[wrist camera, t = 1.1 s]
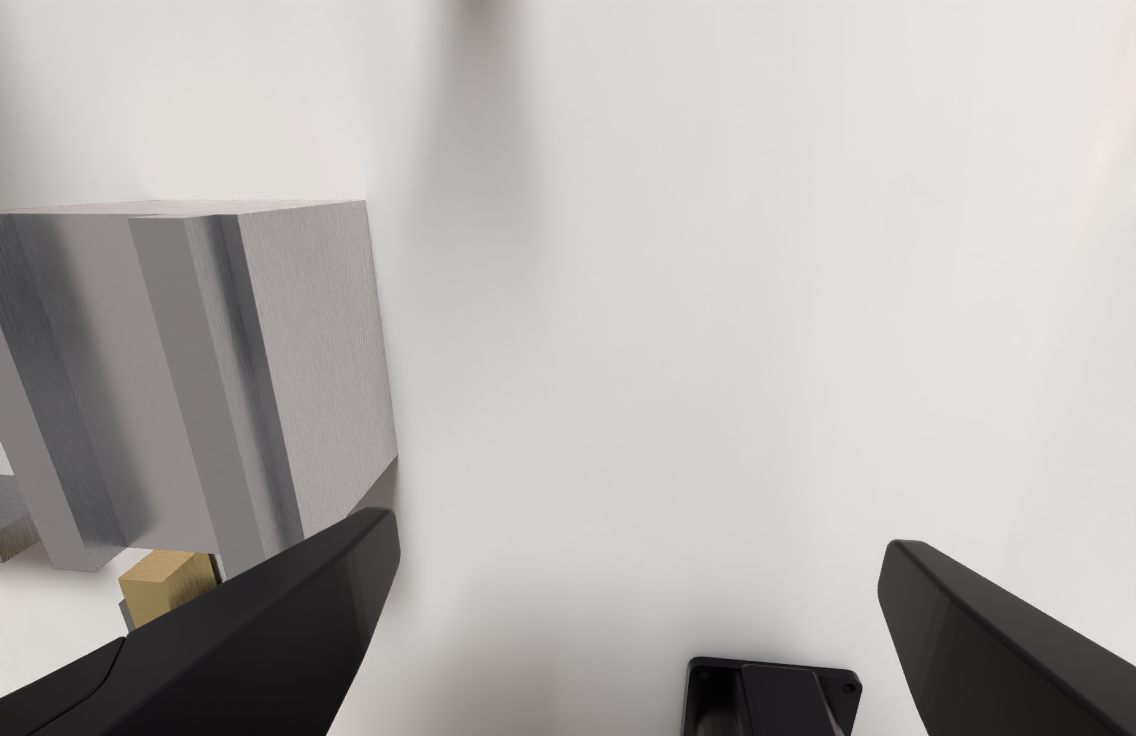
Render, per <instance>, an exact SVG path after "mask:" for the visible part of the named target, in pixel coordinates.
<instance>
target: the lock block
mask: <svg viewBox="0 0 1136 736" xmlns="http://www.w3.org/2000/svg"><path fill="white" fill-rule="evenodd" d="M0 441H1V443H2V446H3V448H4V451H5V453H6V455H7V458H8V460H9V463H10V465H11V467H12V470H13V472H14V475H15V477H16V480H17V482H18V484H19V487H20V489H21V492H22V494H23V497H24V499H25V501H26V504H27V506H28V509H29V511H30V514H31V516H32V518H33V521H34V523H35V526H36V528H37V530H38V533H39V535H40V538H41V540H42V543H43V545H44V547H45V550H46V552H47V555H48V557H49V560H50V562H51V564H52V567H53V569H60V570H73V571H85V572H95V571H97V570H98V569H99V568H101V567H102V566H103V565H105V564H106V563H107V562H109V561H110V560H111V559H113V558H114V557H115V556H117V555H118V554H119V553H121V552H122V551H123V550H125V549H126V548H127V547H130V548H143V549H156V550H169V551H182V552H195V553H209V554H220V555H221V558H222V562H223V565H224V569H225V573H226V576H227V580H229V579H231V578H233V577H235V576H237V575H239V574H241V573H243V572H244V571H246V570H248V569H250V568H252V567H254V566H256V565H258V564H260V563H261V562H263V561H265V560H267V559H269V558H271V557H273V556H275V555H277V554H278V553H280V552H282V551H284V550H286V549H288V548H290V547H292V546H294V545H296V544H297V543H299V542H301V541H303V540H305V539H307V538H309V537H311V536H313V535H314V534H316V533H318V532H320V531H322V530H324V529H326V528H328V527H330V526H331V525H333V524H335V523H337V522H339V521H341V520H343V519H345V518H346V516H347V515H348V514H349V513H350V512H351V510H352V509H353V508H354V507H355V505H356V504H357V503H358V502H359V501H360V499H361V498H362V497H363V496H364V495H365V493H366V492H367V491H368V490H369V489H370V487H371V486H372V485H373V484H374V482H375V481H376V480H377V479H378V478H379V476H380V475H381V474H382V473H383V472H384V470H385V469H386V468H387V467H388V466H389V464H390V463H391V462H392V461H393V459H394V458H395V457H396V456H397V455H398V448H397V441H396V433H395V425H394V417H393V410H392V402H391V394H390V387H389V379H388V371H387V363H386V356H385V348H384V340H383V333H382V325H381V317H380V309H379V302H378V294H377V286H376V278H375V271H374V263H373V255H372V248H371V240H370V232H369V224H368V217H367V209H366V201H365V200H153V201H137V202H121V203H105V204H89V205H73V206H57V207H40V208H24V209H8V210H0Z"/></svg>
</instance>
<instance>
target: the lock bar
mask: <svg viewBox="0 0 1136 736" xmlns="http://www.w3.org/2000/svg"><path fill="white" fill-rule="evenodd" d="M118 581H119V583H120V586H121V589H122V592H123V594H124V597H125V600H126V603H127V605H128V608H129V611H130V614H131V616H132V619H133V622H134V625H135V627H136V629H137V628H138V627H140V626H142V625H144V624H146V623H148V622H150V621H152V620H154V619H155V618H157V617H159V616H161V615H163V614H165V613H167V612H169V611H171V610H172V609H174V608H176V607H178V606H180V605H182V604H184V603H186V602H188V601H190V600H191V599H193V598H195V597H197V596H199V595H201V594H203V593H205V592H207V591H208V590H210V589H212V588H214V587H216V586H217V584H216V580H215V577H214V573H213V570H212V566H211V563H210V559H209V556H208V553H195V552H182V551H169V550H156V549H155V550H153V551H152V552H151V553H150V554H148V555H147V556H146V557H145V558H143V559H142V560H141V561H140V562H138V563H137V564H136V565H135V566H133V567H132V568H131V569H130V570H128V571H127V572H126V573H125V574H123V575H122V576H121V577H120V578H118Z"/></svg>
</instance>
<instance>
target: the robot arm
mask: <svg viewBox="0 0 1136 736" xmlns="http://www.w3.org/2000/svg"><path fill="white" fill-rule="evenodd" d="M400 553H401V552H400V543H399V536H398V529H397V521H396V516H395V513H394V511H393V510H392V509H391V508H383V507H366V508H364V509H362V510H360V511H358V512H356V513H354V514H352V515H350V516H349V517H347V518H345V519H343V520H341V521H339V522H337V523H335V524H333V525H331V526H330V527H328V528H326V529H324V530H322V531H320V532H318V533H316V534H314V535H313V536H311V537H309V538H307V539H305V540H303V541H301V542H299V543H297V544H296V545H294V546H292V547H290V548H288V549H286V550H284V551H282V552H280V553H278V554H277V555H275V556H273V557H271V558H269V559H267V560H265V561H263V562H261V563H260V564H258V565H256V566H254V567H252V568H250V569H248V570H246V571H244V572H243V573H241V574H239V575H237V576H235V577H233V578H231V579H229V580H227V581H225V582H224V583H222V584H220V585H218V586H216V587H214V588H212V589H210V590H208V591H207V592H205V593H203V594H201V595H199V596H197V597H195V598H193V599H191V600H190V601H188V602H186V603H184V604H182V605H180V606H178V607H176V608H174V609H172V610H171V611H169V612H167V613H165V614H163V615H161V616H159V617H157V618H155V619H154V620H152V621H150V622H148V623H146V624H144V625H142V626H140V627H138V628H137V629H135V630H133V631H131V632H129V633H128V635H127V636H126V637H119V638H117V639H115V640H114V641H112V642H110V643H108V644H106V645H104V646H102V647H100V648H99V649H97V650H95V651H93V652H91V653H89V654H87V655H85V656H83V657H81V658H79V659H78V660H76V661H74V662H72V663H70V664H68V665H66V666H64V667H62V668H60V669H58V670H56V671H54V672H52V673H50V674H48V675H46V676H44V677H42V678H40V679H38V680H37V681H35V682H33V683H31V684H29V685H26V686H24V687H22V688H20V689H18V690H16V691H14V692H12V693H10V694H8V695H6V696H4V697H2V698H0V736H326V735H327V733H328V731H329V729H330V727H331V724H332V722H333V720H334V718H335V716H336V714H337V712H338V710H339V708H340V706H341V704H342V702H343V700H344V698H345V696H346V694H347V692H348V690H349V688H350V686H351V684H352V682H353V680H354V678H355V676H356V674H357V672H358V670H359V667H360V665H361V663H362V661H363V659H364V657H365V654H366V652H367V649H368V647H369V644H370V642H371V639H372V636H373V634H374V631H375V628H376V625H377V623H378V620H379V617H380V615H381V612H382V609H383V607H384V604H385V601H386V599H387V596H388V593H389V591H390V588H391V585H392V582H393V580H394V577H395V574H396V572H397V569H398V566H399V562H400ZM877 591H878V599H879V603H880V606H881V609H882V611H883V614H884V617H885V620H886V623H887V626H888V629H889V632H890V634H891V637H892V640H893V643H894V646H895V649H896V652H897V655H898V657H899V660H900V663H901V666H902V669H903V672H904V675H905V678H906V680H907V683H908V686H909V689H910V692H911V694H912V697H913V700H914V702H915V705H916V708H917V710H918V712H919V715H920V717H921V719H922V721H923V724H924V726H925V728H926V730H927V733H928V735H929V736H1136V666H1134V665H1132V664H1131V663H1129V662H1127V661H1125V660H1124V659H1122V658H1120V657H1119V656H1117V655H1115V654H1114V653H1112V652H1110V651H1108V650H1107V649H1105V648H1103V647H1102V646H1100V645H1098V644H1097V643H1095V642H1093V641H1091V640H1090V639H1088V638H1086V637H1085V636H1083V635H1081V634H1080V633H1078V632H1076V631H1074V630H1073V629H1071V628H1069V627H1068V626H1066V625H1064V624H1063V623H1061V622H1059V621H1057V620H1056V619H1054V618H1052V617H1051V616H1049V615H1047V614H1046V613H1044V612H1042V611H1041V610H1039V609H1037V608H1035V607H1034V606H1032V605H1030V604H1029V603H1027V602H1025V601H1024V600H1022V599H1020V598H1018V597H1017V596H1015V595H1013V594H1012V593H1010V592H1008V591H1007V590H1005V589H1003V588H1001V587H1000V586H998V585H996V584H995V583H993V582H991V581H990V580H988V579H986V578H984V577H983V576H981V575H979V574H978V573H976V572H974V571H973V570H971V569H969V568H967V567H966V566H964V565H962V564H961V563H959V562H957V561H956V560H954V559H952V558H951V557H949V556H947V555H945V554H944V553H942V552H940V551H939V550H937V549H935V548H934V547H932V546H930V545H928V544H927V543H925V542H922V541H915V540H898V539H895V540H892V541H891V542H889V544H888V545H887V548H886V552H885V556H884V560H883V564H882V569H881V573H880V577H879V581H878V590H877ZM699 670H704V671H699ZM861 693H862V684H861V682H860V680H859V678H858V676H857V674H856V673H855V672H853V671H850V670H844V669H833V668H822V667H811V666H800V665H789V664H778V663H767V662H756V661H745V660H734V659H723V658H712V657H696V658H693V659H692V660H691V661H690V662H689V665H688V674H687V684H686V694H685V704H684V713H683V723H682V733H681V736H851V732H852V728H853V724H854V721H855V717H856V713H857V709H858V705H859V701H860V697H861Z"/></svg>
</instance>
